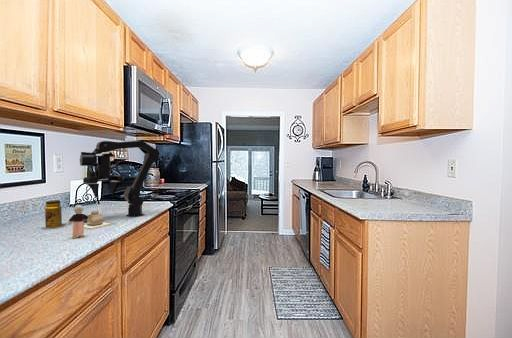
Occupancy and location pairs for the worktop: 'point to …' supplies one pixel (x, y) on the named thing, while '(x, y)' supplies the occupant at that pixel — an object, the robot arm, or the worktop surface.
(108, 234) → the worktop surface
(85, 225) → the cream square plate
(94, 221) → the stamp
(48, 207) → the condiment
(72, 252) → the worktop surface
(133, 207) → the robot arm
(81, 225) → the grandmother figurine
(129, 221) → the worktop surface
